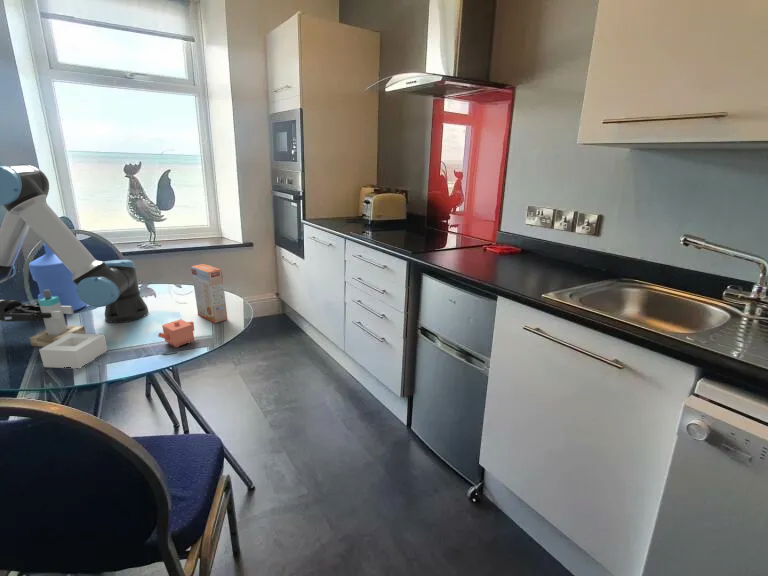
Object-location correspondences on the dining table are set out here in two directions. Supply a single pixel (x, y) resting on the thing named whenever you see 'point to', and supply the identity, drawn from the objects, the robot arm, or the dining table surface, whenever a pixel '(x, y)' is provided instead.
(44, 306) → the plug
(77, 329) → the beige flat square frame
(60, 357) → the socket block
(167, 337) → the pink cube teapot
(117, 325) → the dining table surface
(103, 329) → the dining table surface
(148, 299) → the dining table surface
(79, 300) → the water jug
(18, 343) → the dining table surface
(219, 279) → the cracker box
